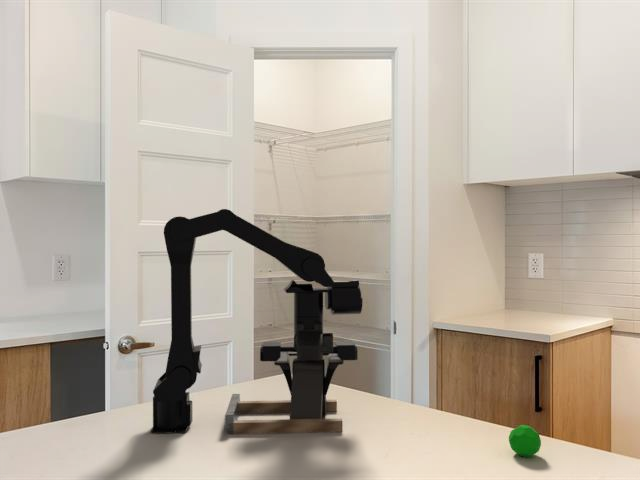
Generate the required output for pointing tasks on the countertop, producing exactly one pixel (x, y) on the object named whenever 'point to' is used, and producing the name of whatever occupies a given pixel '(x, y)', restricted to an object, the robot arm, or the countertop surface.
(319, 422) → the guide track
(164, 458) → the countertop surface
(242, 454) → the countertop surface
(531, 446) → the polyhedron
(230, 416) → the end stop
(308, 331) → the robot arm
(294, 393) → the phone stand
